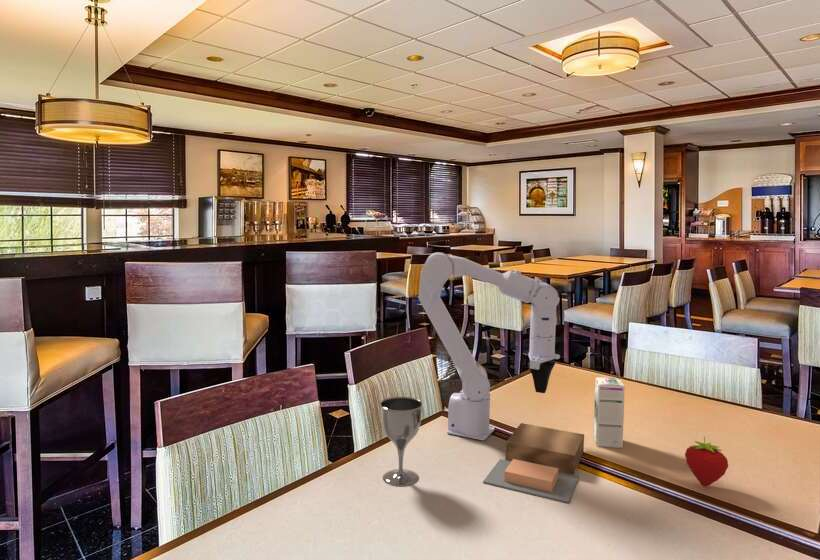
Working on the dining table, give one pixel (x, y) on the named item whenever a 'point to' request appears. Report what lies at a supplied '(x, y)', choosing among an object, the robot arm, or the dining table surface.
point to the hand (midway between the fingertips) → (540, 391)
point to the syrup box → (609, 412)
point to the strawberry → (706, 462)
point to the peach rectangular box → (531, 475)
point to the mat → (559, 492)
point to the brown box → (546, 447)
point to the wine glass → (401, 433)
